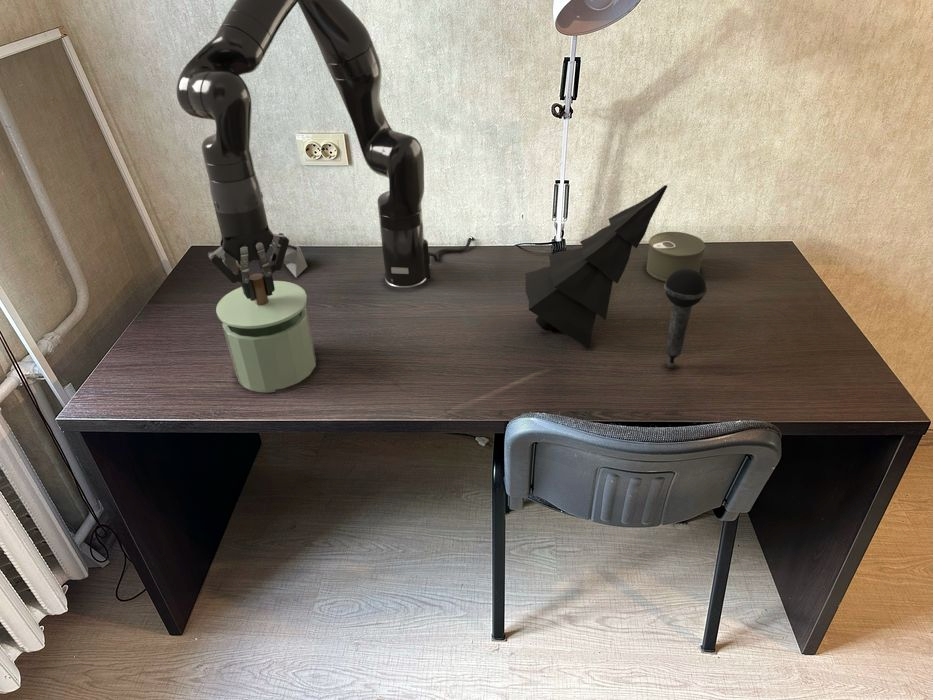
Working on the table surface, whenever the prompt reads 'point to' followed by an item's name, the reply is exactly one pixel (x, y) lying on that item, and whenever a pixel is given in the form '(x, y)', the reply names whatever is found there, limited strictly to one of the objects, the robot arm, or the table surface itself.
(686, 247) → the can
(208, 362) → the table surface
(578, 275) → the decorative tree
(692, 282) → the microphone
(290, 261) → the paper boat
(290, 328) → the crock
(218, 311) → the lid
